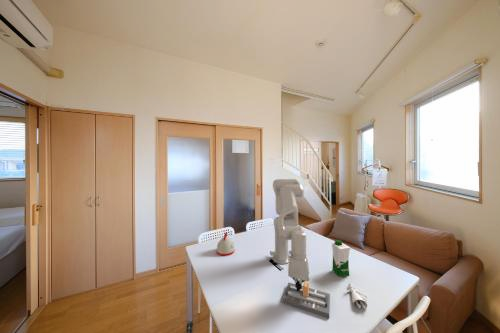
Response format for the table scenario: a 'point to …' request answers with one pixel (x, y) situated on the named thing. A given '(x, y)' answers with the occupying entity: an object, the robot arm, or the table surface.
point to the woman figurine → (356, 297)
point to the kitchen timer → (225, 246)
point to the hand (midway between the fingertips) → (298, 289)
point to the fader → (306, 289)
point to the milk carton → (340, 258)
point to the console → (308, 300)
